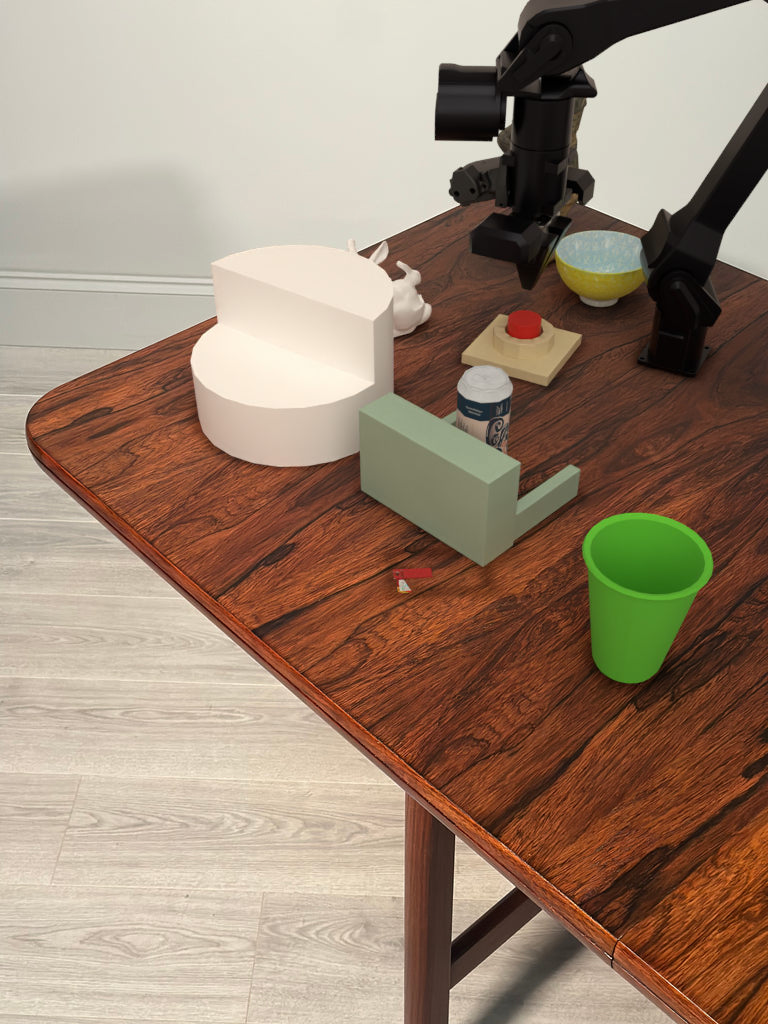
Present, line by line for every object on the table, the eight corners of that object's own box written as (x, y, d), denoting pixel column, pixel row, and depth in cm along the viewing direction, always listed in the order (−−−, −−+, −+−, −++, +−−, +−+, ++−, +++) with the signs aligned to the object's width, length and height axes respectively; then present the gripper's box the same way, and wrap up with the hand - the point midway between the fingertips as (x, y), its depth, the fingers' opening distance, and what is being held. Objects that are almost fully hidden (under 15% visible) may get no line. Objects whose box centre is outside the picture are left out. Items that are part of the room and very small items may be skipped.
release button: (515, 321, 115) (516, 307, 114) (545, 329, 114) (546, 314, 113) (501, 335, 113) (502, 321, 112) (532, 343, 112) (533, 329, 110)
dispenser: (458, 430, 104) (462, 352, 98) (580, 496, 96) (591, 415, 90) (360, 490, 97) (358, 409, 91) (482, 567, 88) (488, 483, 83)
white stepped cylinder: (157, 421, 105) (136, 303, 97) (284, 339, 118) (276, 228, 109) (311, 492, 96) (303, 369, 88) (431, 395, 109) (434, 278, 100)
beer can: (501, 506, 95) (510, 395, 87) (449, 500, 95) (453, 389, 88) (507, 474, 98) (516, 365, 91) (457, 469, 99) (462, 359, 91)
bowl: (530, 294, 126) (534, 246, 122) (598, 267, 131) (604, 221, 127) (598, 332, 119) (605, 282, 115) (667, 302, 124) (675, 254, 120)
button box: (499, 322, 120) (500, 299, 119) (580, 343, 117) (583, 320, 115) (461, 363, 114) (462, 338, 112) (546, 386, 110) (549, 362, 108)
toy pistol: (395, 594, 86) (391, 554, 90) (395, 598, 86) (391, 557, 90) (490, 590, 86) (482, 550, 90) (490, 594, 86) (482, 553, 90)
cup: (692, 632, 82) (719, 526, 75) (678, 718, 76) (706, 610, 69) (578, 606, 85) (595, 501, 78) (555, 687, 78) (571, 580, 71)
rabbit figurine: (334, 347, 116) (330, 268, 110) (321, 315, 122) (317, 238, 116) (437, 334, 118) (440, 255, 112) (420, 303, 124) (421, 226, 118)
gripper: (503, 99, 110) (494, 238, 119) (421, 158, 97) (419, 308, 107) (604, 116, 105) (587, 259, 115) (532, 180, 93) (519, 334, 103)
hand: (528, 288), depth 110 cm, fingers closed
